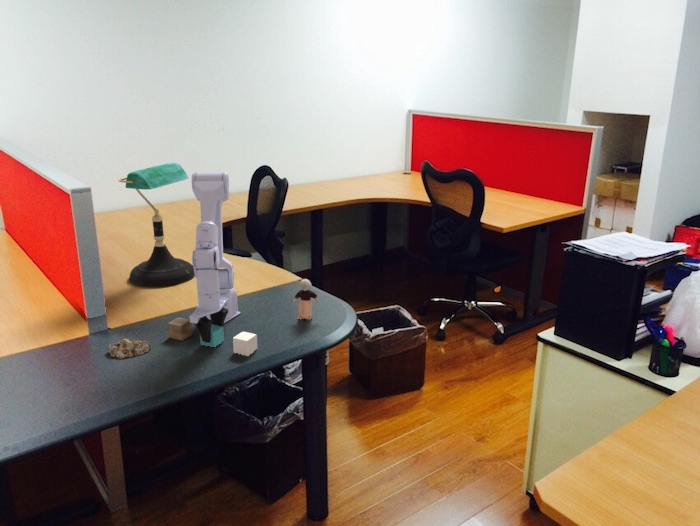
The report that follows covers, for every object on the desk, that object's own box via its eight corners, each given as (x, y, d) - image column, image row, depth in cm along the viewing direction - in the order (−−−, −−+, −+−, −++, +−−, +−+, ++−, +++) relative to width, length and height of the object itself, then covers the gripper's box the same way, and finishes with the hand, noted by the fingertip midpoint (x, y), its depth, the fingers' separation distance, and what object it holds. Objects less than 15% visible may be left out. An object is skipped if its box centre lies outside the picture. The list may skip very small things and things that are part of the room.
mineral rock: (104, 353, 151) (109, 333, 157) (106, 366, 153) (112, 345, 160) (148, 351, 153) (151, 331, 159) (149, 364, 155) (153, 344, 162)
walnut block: (180, 331, 169) (178, 317, 167) (192, 334, 167) (191, 320, 165) (169, 337, 165) (167, 323, 163) (182, 340, 163) (180, 325, 162)
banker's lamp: (168, 292, 198) (156, 174, 186) (112, 284, 205) (97, 170, 193) (210, 268, 222) (202, 162, 210) (158, 262, 229) (148, 159, 217)
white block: (243, 346, 160) (242, 331, 158) (257, 349, 158) (256, 334, 157) (233, 353, 156) (232, 337, 155) (247, 356, 154) (247, 340, 153)
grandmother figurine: (294, 321, 175) (293, 281, 171) (293, 316, 179) (292, 277, 175) (319, 320, 176) (319, 280, 172) (318, 315, 180) (317, 276, 176)
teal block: (211, 338, 164) (209, 323, 163) (224, 341, 162) (223, 326, 161) (200, 344, 160) (199, 329, 159) (214, 348, 159) (212, 332, 157)
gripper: (212, 280, 165) (216, 325, 169) (178, 298, 152) (183, 345, 156) (233, 284, 162) (236, 329, 166) (200, 302, 149) (204, 350, 153)
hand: (212, 337), depth 161 cm, fingers closed on teal block, 4 cm apart
